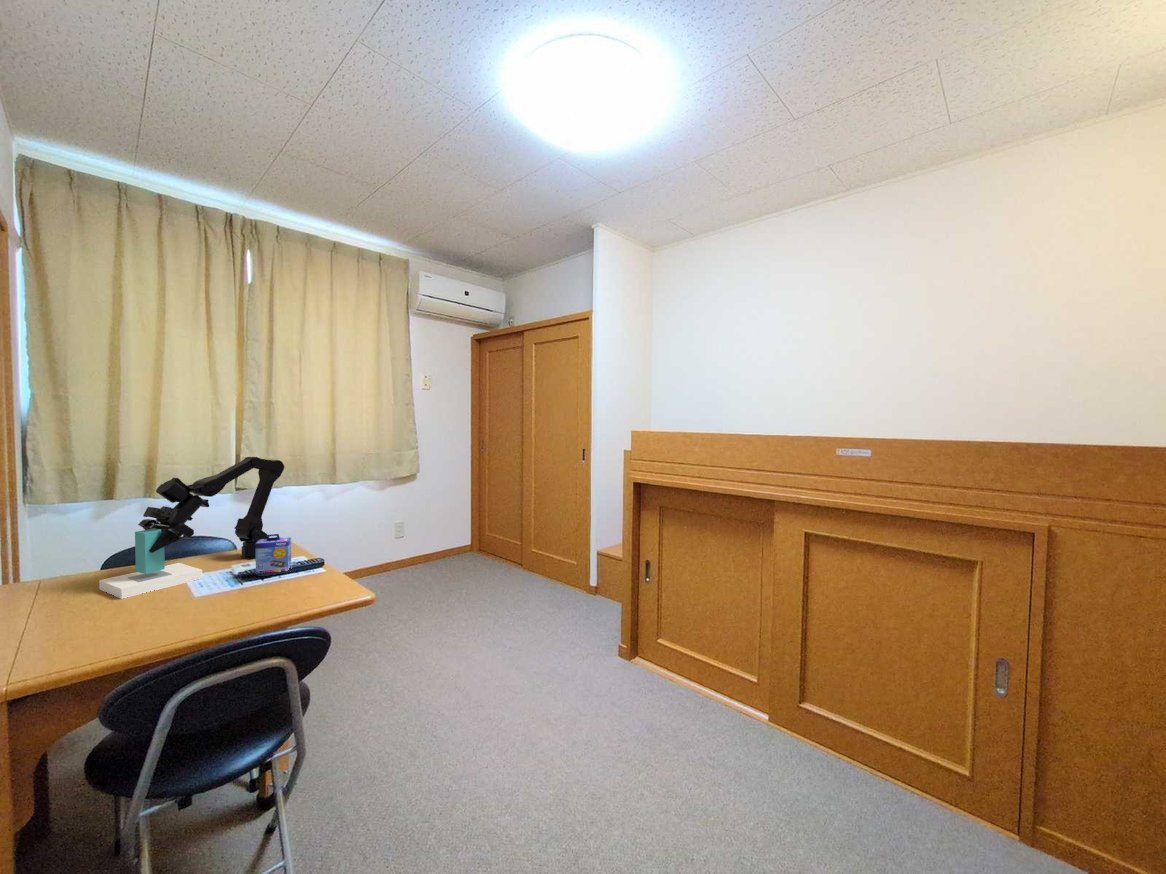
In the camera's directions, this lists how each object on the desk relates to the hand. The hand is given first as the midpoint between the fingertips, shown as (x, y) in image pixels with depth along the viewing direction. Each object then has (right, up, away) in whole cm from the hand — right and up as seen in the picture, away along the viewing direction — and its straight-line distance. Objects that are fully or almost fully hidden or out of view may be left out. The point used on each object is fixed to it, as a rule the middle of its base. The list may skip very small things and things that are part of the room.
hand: (144, 551), depth 143 cm
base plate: (0, -11, +3) cm, 12 cm away
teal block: (0, -7, +2) cm, 7 cm away
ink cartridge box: (+32, -12, +14) cm, 37 cm away
